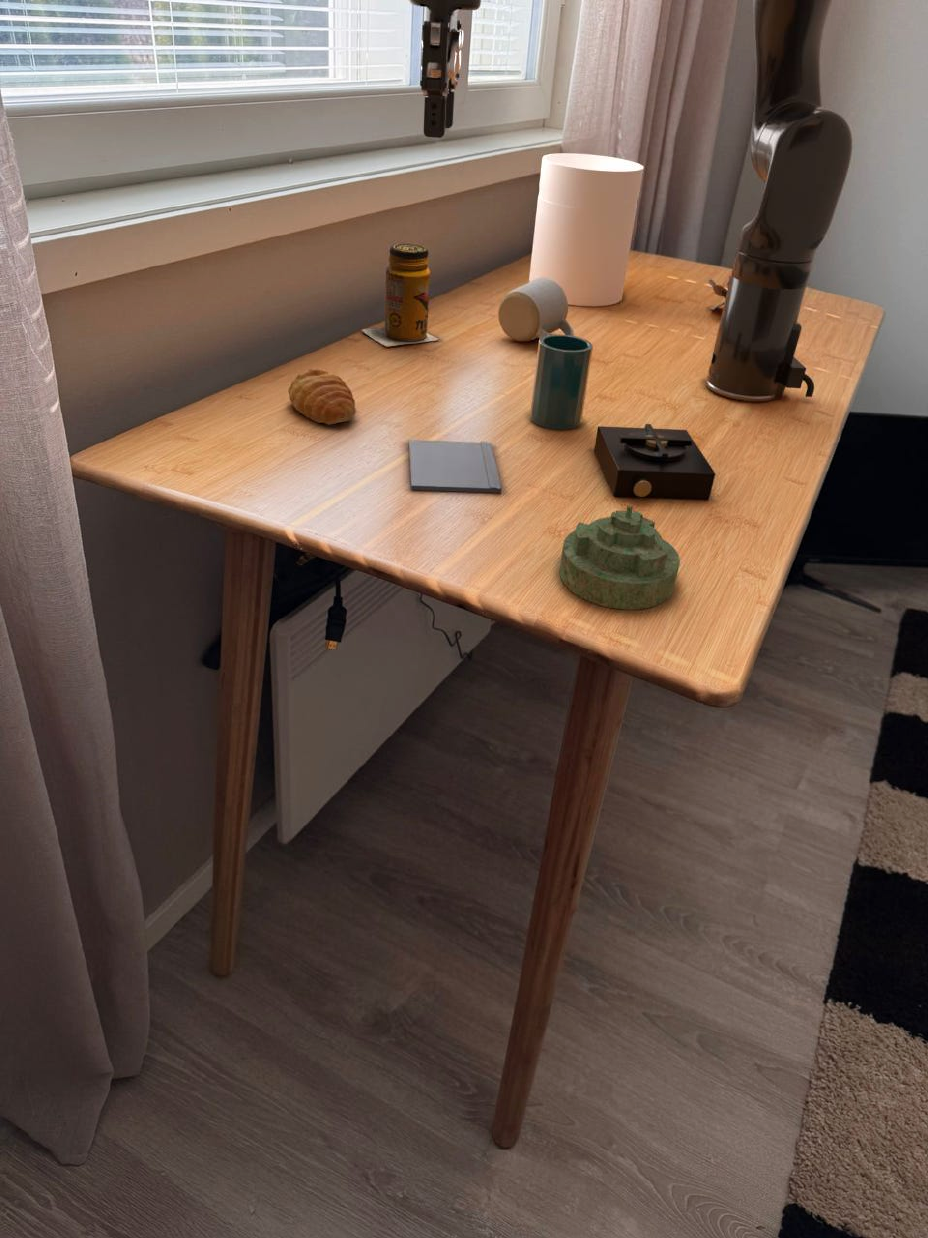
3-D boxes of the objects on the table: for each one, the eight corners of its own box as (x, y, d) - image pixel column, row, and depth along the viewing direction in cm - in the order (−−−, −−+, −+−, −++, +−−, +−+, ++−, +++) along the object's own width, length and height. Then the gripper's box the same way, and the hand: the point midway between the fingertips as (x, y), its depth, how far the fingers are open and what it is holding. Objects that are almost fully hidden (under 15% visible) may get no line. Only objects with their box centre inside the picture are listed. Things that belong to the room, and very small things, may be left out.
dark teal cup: (576, 411, 112) (587, 335, 107) (584, 431, 107) (597, 353, 102) (527, 409, 112) (536, 333, 106) (533, 429, 107) (543, 350, 101)
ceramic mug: (491, 336, 133) (497, 281, 129) (521, 324, 139) (528, 271, 135) (554, 356, 129) (563, 300, 124) (582, 342, 135) (591, 289, 130)
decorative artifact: (563, 541, 85) (554, 599, 77) (574, 472, 81) (565, 525, 73) (672, 558, 84) (674, 618, 76) (688, 488, 80) (693, 544, 72)
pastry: (370, 423, 105) (370, 390, 102) (315, 432, 101) (314, 399, 99) (335, 394, 111) (335, 363, 109) (282, 402, 108) (280, 370, 106)
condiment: (438, 340, 130) (444, 251, 123) (386, 347, 126) (388, 256, 119) (412, 325, 135) (415, 238, 128) (360, 331, 131) (361, 242, 124)
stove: (680, 454, 104) (688, 419, 101) (711, 504, 94) (721, 467, 92) (593, 451, 103) (599, 415, 100) (615, 501, 93) (622, 463, 91)
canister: (628, 309, 150) (651, 174, 139) (530, 301, 150) (545, 166, 138) (616, 283, 163) (636, 158, 152) (526, 275, 163) (539, 149, 151)
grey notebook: (490, 447, 102) (491, 442, 101) (500, 493, 93) (501, 487, 92) (408, 443, 101) (408, 438, 100) (411, 490, 92) (411, 484, 91)
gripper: (478, -49, 87) (466, 143, 96) (488, -44, 99) (477, 126, 108) (399, -55, 87) (395, 137, 96) (418, -50, 99) (413, 121, 108)
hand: (438, 131), depth 102 cm, fingers open, 8 cm apart
